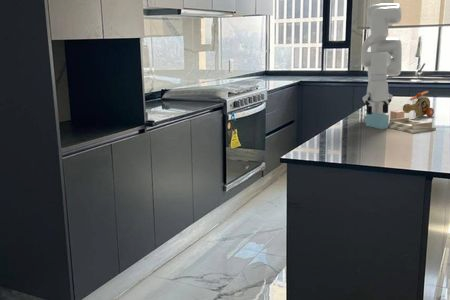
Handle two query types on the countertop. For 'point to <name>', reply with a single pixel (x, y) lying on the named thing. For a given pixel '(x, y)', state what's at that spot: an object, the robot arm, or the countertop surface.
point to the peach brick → (396, 114)
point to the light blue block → (377, 120)
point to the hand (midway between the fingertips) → (377, 113)
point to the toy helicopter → (420, 106)
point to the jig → (410, 125)
